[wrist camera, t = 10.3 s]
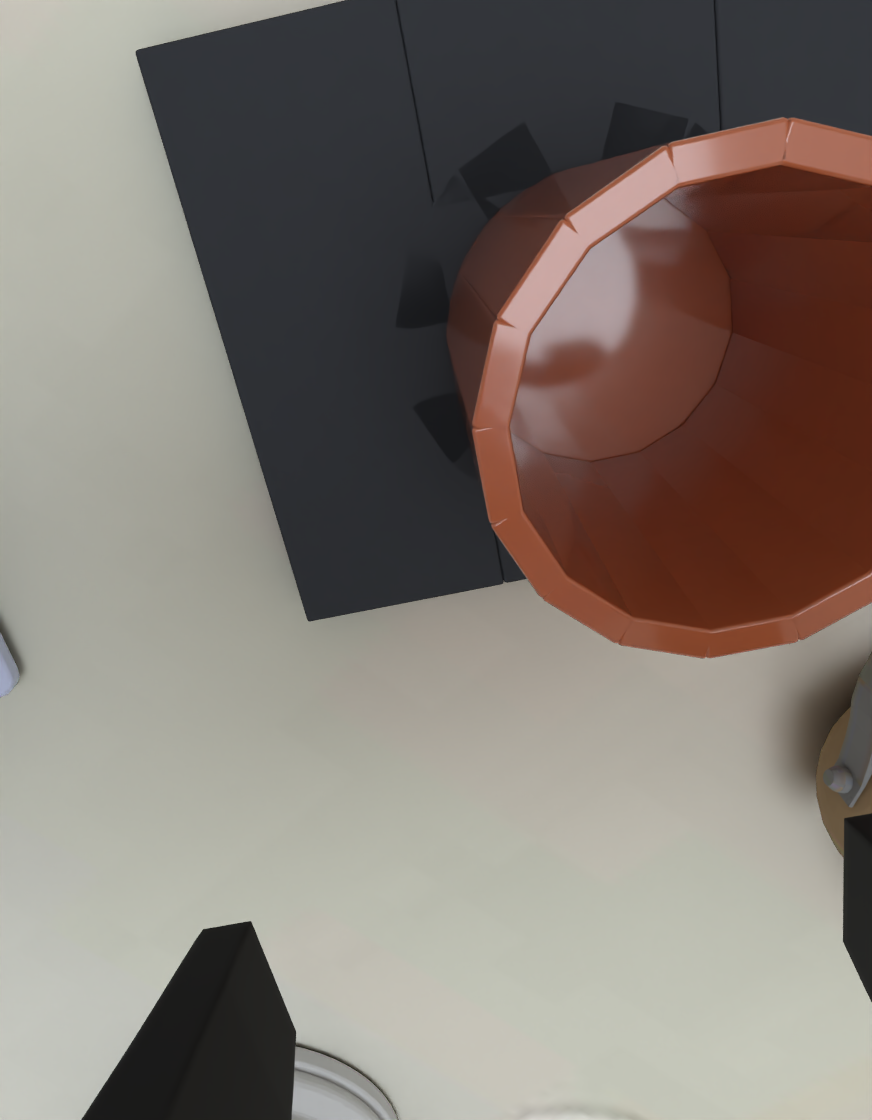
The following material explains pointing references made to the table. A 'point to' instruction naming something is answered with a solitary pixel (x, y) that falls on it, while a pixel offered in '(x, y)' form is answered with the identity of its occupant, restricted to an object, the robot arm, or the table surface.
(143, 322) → the table surface
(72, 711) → the table surface
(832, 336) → the cup
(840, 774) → the alarm clock
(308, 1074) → the chess piece
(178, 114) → the drain mat
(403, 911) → the table surface
